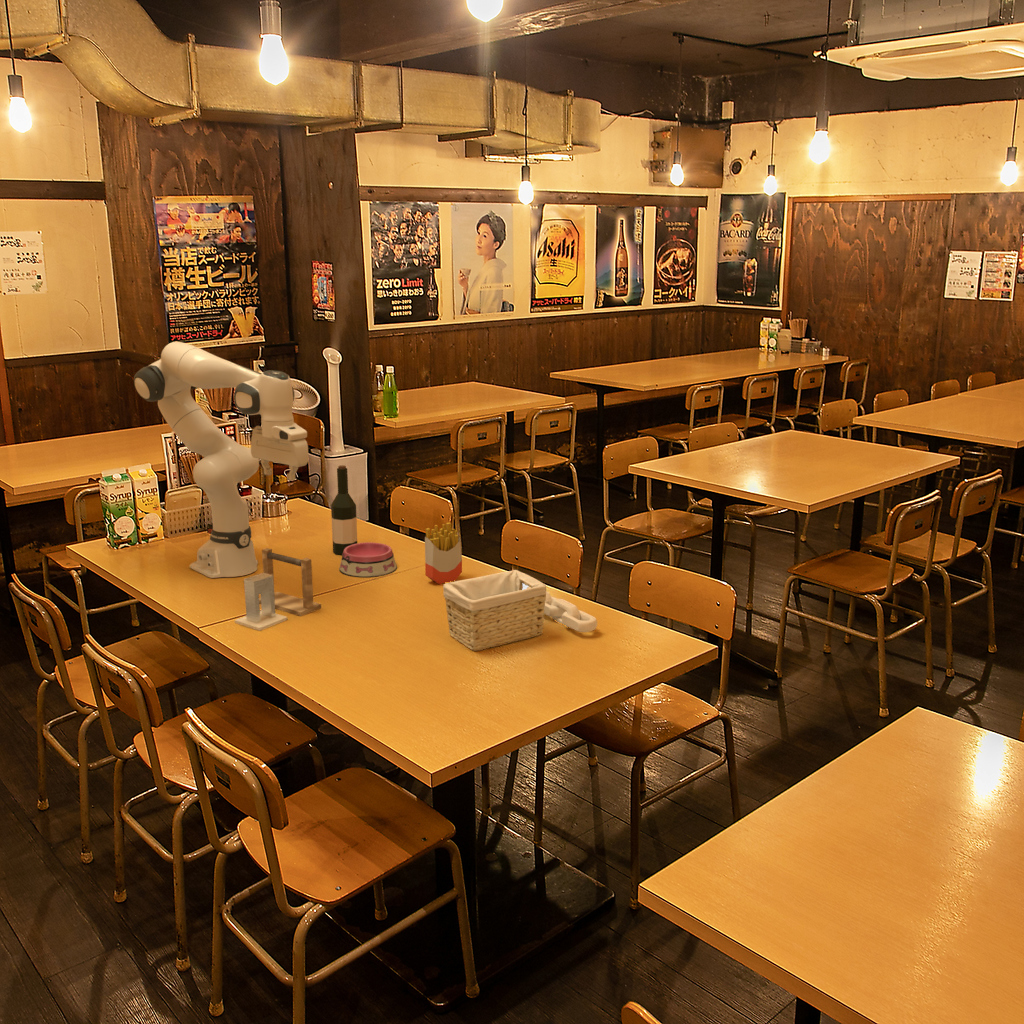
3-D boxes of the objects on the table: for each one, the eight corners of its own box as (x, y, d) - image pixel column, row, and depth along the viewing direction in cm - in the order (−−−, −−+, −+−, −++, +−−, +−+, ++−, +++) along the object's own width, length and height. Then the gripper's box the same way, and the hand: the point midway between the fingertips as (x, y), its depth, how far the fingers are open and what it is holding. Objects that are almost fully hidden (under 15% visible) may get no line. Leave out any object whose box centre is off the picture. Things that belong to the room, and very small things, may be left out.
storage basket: (470, 655, 246) (470, 600, 242) (441, 634, 259) (440, 582, 255) (548, 637, 258) (549, 584, 254) (516, 617, 271) (517, 568, 267)
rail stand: (257, 603, 280) (253, 552, 276) (278, 595, 287) (275, 545, 283) (300, 616, 271) (297, 563, 267) (321, 608, 277) (319, 556, 273)
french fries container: (462, 579, 302) (462, 524, 297) (433, 586, 296) (432, 530, 291) (454, 576, 305) (454, 521, 301) (425, 582, 299) (424, 526, 294)
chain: (518, 606, 280) (519, 586, 279) (536, 602, 283) (536, 582, 282) (581, 640, 256) (582, 618, 254) (600, 635, 259) (600, 613, 258)
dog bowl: (407, 571, 310) (406, 551, 308) (353, 582, 300) (352, 561, 298) (382, 557, 325) (381, 537, 323) (330, 566, 315) (329, 546, 313)
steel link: (246, 620, 265) (243, 579, 262) (265, 613, 271) (263, 572, 267) (256, 623, 263) (253, 581, 260) (275, 616, 268) (273, 575, 265)
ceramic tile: (234, 622, 266) (234, 620, 265) (262, 612, 273) (262, 609, 273) (259, 630, 260) (259, 628, 260) (287, 619, 268) (287, 617, 268)
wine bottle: (327, 552, 329) (324, 466, 321) (347, 547, 334) (344, 462, 327) (343, 557, 323) (339, 469, 315) (362, 552, 329) (359, 466, 321)
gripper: (244, 426, 274) (246, 473, 278) (294, 435, 263) (296, 485, 267) (261, 423, 279) (263, 469, 283) (311, 432, 268) (312, 480, 272)
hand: (279, 477), depth 275 cm, fingers open, 8 cm apart
